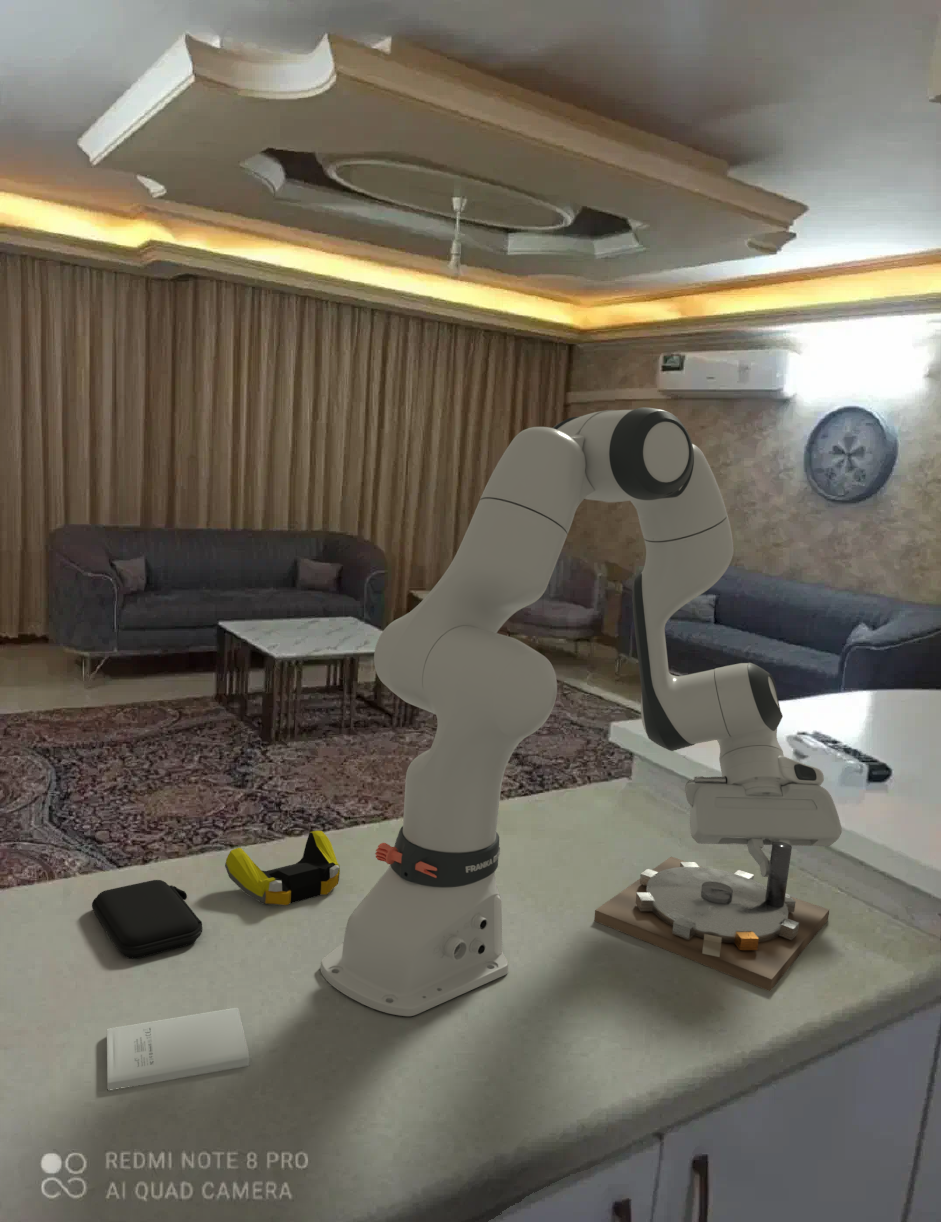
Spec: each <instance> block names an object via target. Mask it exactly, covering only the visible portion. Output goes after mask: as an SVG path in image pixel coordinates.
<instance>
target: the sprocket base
mask: <svg viewBox="0 0 941 1222" xmlns="http://www.w3.org/2000/svg"><path fill="white" fill-rule="evenodd" d="M680 862H687V861H686V860H683V859H679V858H677V857H674V856H670V857H668V858H667V859H665V860H664V861H663V862H661V863H660V864H659V865H657V866H655V867H654V868H653V869H652V870H653V871H656V872H660V871H663V870H666V869H671V868H677V867H680ZM698 866H699V867H702V865H701V866H700V865H698ZM646 890H647V886H644V885H641V884H640V878H639V879H637V880H635V881H634V882H633V883H631V884H630V885H628V886H627V887H626V888H624V889H623V890H622V891H621V892H618V893H617V894H616V895H614V896H613V897H612V898H610V899H609V900H607V901H606V902H605V903H603V904H602V905H600V906H599V907H597V908H596V909H595V911H594V920H593V921H594V922H596V923H599V924H601V925H603V926H606V927H609V928H611V929H613V930H616V931H619V932H621V933H623V934H626V935H628V936H631V937H634V938H636V939H638V940H640V941H644V942H645V943H649V944H651V945H653V946H656V947H658V948H661V949H663V950H666V951H668V952H670V953H673V954H676V955H679V956H681V957H684V958H686V959H688V960H691V961H693V962H696V963H699V964H701V965H703V966H706V967H708V968H711V969H713V970H716V971H718V972H721V973H724V974H726V975H728V976H730V977H733V978H736V979H739V980H741V981H743V982H746V983H748V984H750V985H753V986H754V987H758V988H761V989H762V990H763V989H764V990H765V991H768V992H771V991H772V990H773V989H774V987H776V985H777V984H778V983H779V981H780V980H781V979H782V978H783V977H784V975H785V974H786V972H787V971H789V969H790V967H792V965H793V964H794V963H795V962H796V960H797V959H798V957H800V955H801V954H802V953H803V952H804V950H805V949H806V948H807V947H808V945H809V944H810V943H811V941H813V939H814V938H815V937H816V936H817V934H818V933H819V932H820V931H821V930H822V928H823V927H824V926H825V925H826V924H827V922H828V921H829V915H830V909H829V908H826V907H823V906H819V905H817V904H815V903H811V902H808V901H806V900H802V899H800V898H797V897H793V896H791V897H792V898H793V899H794V900H795V910H794V912H788V919H790V920H793V921H796V922H799V927H798V934H797V935H796V936H795V937H794V938H793V939H792V940H790V939H787V938H784V937H782V936H778V937H776V938H774V939H771V940H768V941H764V942H758V948H757V950H739V948H738V947H737V946H736V944H735V943H727V942H721V939H722V937H717V936H712V935H707V934H704V938H701V937H698V936H695V935H694V936H693V937H692V938H691V939H690V940H687V939H685V938H682V937H680V936H677V935H675V934H672V932H673V926H671V925H669V924H668V923H666V922H664V921H663V920H662V919H660V918H659V917H658V916H657V915H655V914H654V913H653V911H640V910H639V908H638V906H637V905H636V893H637V892H646Z"/></svg>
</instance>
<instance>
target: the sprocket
mask: <svg viewBox="0 0 941 1222" xmlns="http://www.w3.org/2000/svg"><path fill="white" fill-rule="evenodd" d="M792 849H793V846H791V845H789V844H787V843H784V842H773V843H772V845H771V850H770V851H771V852H770V857H769V860H770V866H769V873H768V877H767V881H766V885H765V884H763V883H761V882H758V881H757V880H754V876H755V874H753V873H749V872H746V871H743V870H740V869H738V870H736V871H735V872H732V871H727V870H723V869H719V868H711V867H705V866H704V867H703V866H701V867H699V866H700V865H698V864H697V862H696V861H686V862H680V867H677V868H671V869H666V870H663V871H660V872H656V871H653V869H650V868H647V869H645V870H644V871H643V872H641V873H640V877H639V879H640V884H641V885H644V886H647V890H646V892H637V893H636V905H637V906H638V908H639V910H640V911H653V913H654V914H655V915H657V916H658V917H659V918H660V919H662V920H663V921H664V922H666V923H668V924H669V925H671V926H673V932H672V934H675V935H677V936H680V937H682V938H685V939H687V940H690V939H691V938H692V937H693V936H694V935H695V936H698V937H701V938H704V934H707V935H712V936H717V937H722V939H721V942H727V943H735V944H736V946H737V947H738V948H739V950H757V948H758V942H764V941H768V940H771V939H774V938H776V937H778V936H782V937H784V938H787V939H790V940H792V939H793V938H794V937H795V936H796V935H797V934H798V927H799V922H796V921H793V920H790V919H788V912H794V910H795V900H794V899H793V898H792V897H793V896H791V895H790V894H789V893H786V892H787V888H788V887H787V885H788V879H789V871H790V863H791V856H792Z"/></svg>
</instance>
